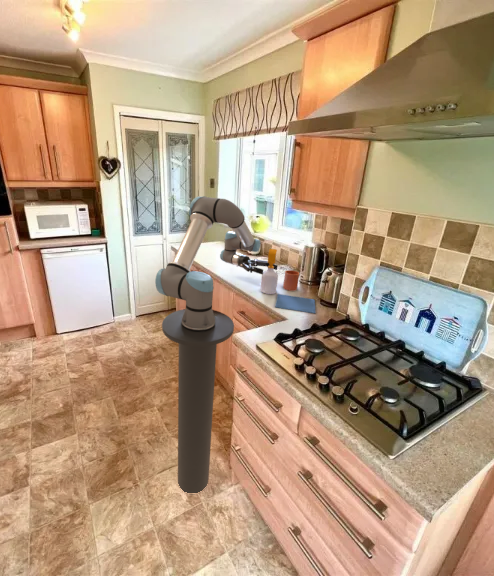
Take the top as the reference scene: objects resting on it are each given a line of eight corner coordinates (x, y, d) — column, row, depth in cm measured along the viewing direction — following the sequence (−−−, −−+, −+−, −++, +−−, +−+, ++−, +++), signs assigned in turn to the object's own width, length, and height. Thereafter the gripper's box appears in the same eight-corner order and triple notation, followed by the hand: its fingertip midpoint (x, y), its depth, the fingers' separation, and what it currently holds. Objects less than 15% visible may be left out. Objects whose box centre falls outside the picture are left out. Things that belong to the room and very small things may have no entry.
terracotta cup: (282, 289, 179) (284, 273, 176) (283, 285, 187) (285, 269, 183) (296, 291, 178) (299, 275, 174) (297, 286, 185) (299, 271, 182)
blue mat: (275, 307, 155) (275, 306, 155) (278, 294, 172) (278, 294, 172) (315, 313, 151) (315, 313, 151) (314, 300, 168) (314, 299, 167)
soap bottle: (276, 289, 179) (281, 248, 170) (275, 295, 171) (280, 252, 162) (261, 287, 181) (265, 246, 172) (259, 292, 172) (263, 250, 163)
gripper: (253, 263, 195) (281, 271, 181) (227, 270, 177) (255, 280, 164) (254, 251, 192) (283, 259, 178) (227, 258, 175) (257, 267, 161)
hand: (270, 269), depth 171 cm, fingers open, 13 cm apart
